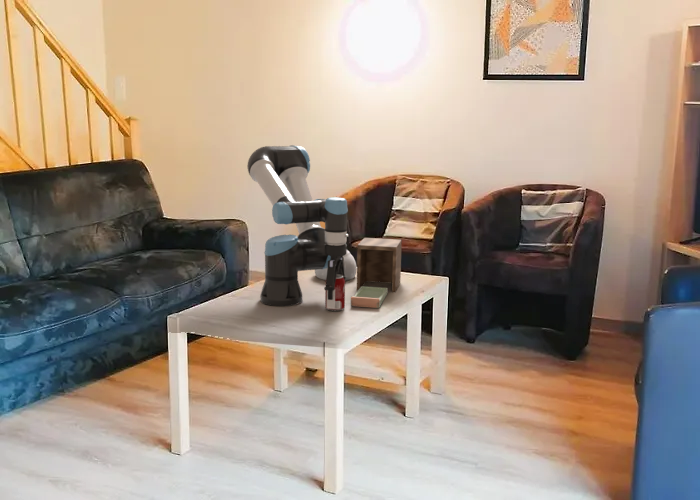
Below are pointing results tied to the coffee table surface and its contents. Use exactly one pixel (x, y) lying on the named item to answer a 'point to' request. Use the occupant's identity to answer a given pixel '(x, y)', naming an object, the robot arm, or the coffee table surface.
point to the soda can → (338, 294)
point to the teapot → (348, 268)
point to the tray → (369, 297)
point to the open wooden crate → (379, 261)
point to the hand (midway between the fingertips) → (334, 303)
